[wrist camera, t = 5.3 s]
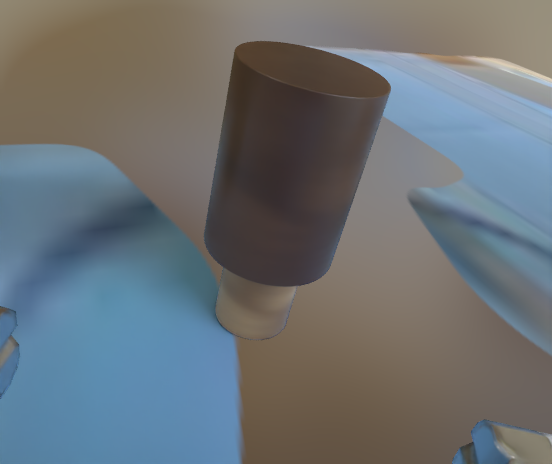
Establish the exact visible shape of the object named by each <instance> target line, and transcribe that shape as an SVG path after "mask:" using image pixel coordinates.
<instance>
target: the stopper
mask: <svg viewBox="0 0 552 464" xmlns="http://www.w3.org/2000/svg"><path fill="white" fill-rule="evenodd" d="M390 91H391V86H390V84H389V83H388V81H387V80H386V79H385V78H384V77H382V76H381V75H380V74H378V73H377V72H375V71H373V70H372V69H370V68H368V67H366V66H364V65H362V64H359V63H357V62H355V61H352V60H350V59H347V58H344V57H341V56H339V55H336V54H332V53H329V52H326V51H322V50H318V49H314V48H310V47H305V46H300V45H295V44H288V43H281V42H269V41H268V42H267V41H256V42H247V43H243V44H241V45H239V46H237V47H236V49H235V52H234V59H233V64H232V70H231V76H230V82H229V88H228V94H227V100H226V106H225V112H224V119H223V124H222V130H221V137H220V143H219V149H218V154H217V160H216V166H215V172H214V178H213V184H212V190H211V196H210V202H209V208H208V214H207V220H206V226H205V232H204V241H205V244H206V248H207V249H208V251H209V253H210V254H211V256H212V257H213V258H214V259H215V260H216V261H217V262H218V263H219V264H220V265H221V266H223V271H222V277H221V281H220V286H219V291H218V296H217V301H216V306H215V312H216V316H217V318H218V321H219V322H220V324H221V325H222V326H223V327H224V328H225V329H226V330H228V331H229V332H231V333H232V334H234V335H236V336H239V337H242V338H245V339H250V340H264V339H269V338H272V337H274V336H276V335H277V334H279V333H280V332H281V331H282V330H283V329H284V327H285V325H286V322H287V319H288V316H289V312H290V309H291V306H292V303H293V300H294V296H295V293H296V289H297V286H301V285H304V284H308V283H311V282H314V281H316V280H318V279H319V278H321V277H322V276H323V275H324V274H325V273H326V272H327V271H328V270H329V268H330V266H331V263H332V260H333V257H334V254H335V251H336V248H337V245H338V242H339V240H340V236H341V234H342V231H343V228H344V225H345V222H346V219H347V216H348V213H349V211H350V208H351V205H352V202H353V199H354V196H355V193H356V190H357V187H358V184H359V181H360V179H361V175H362V173H363V170H364V167H365V164H366V161H367V158H368V155H369V152H370V150H371V147H372V144H373V141H374V138H375V135H376V132H377V129H378V126H379V123H380V120H381V118H382V115H383V112H384V109H385V106H386V103H387V100H388V97H389V94H390Z"/></svg>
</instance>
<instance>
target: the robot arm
mask: <svg viewBox="0 0 552 464" xmlns="http://www.w3.org/2000/svg"><path fill="white" fill-rule="evenodd" d="M17 326H18V325H17V318H16V311H13V310H11V309H9V308H5V307H1V306H0V399H1V398H2V396H3V395H4V393H5V392H6V390H7V389H8V387H9V386H10V384H11V382H12V380H13V377H14V375H15V372H16V370H17V368H18V362H19V356H20V351H19V344H18V343H17V342H16V340H15V339H14V338H13V337H12V336H11V334H12V332H13V331H14V330H15V329H16V327H17ZM471 434H472V438H473V442H472V443H469V444H467V445H465V446H462V447H461V448H460V449H459V450H458V452H457V453H456V455H455V457H454V458H453V462H452V464H552V435H550V434H546V433H539V432H537V431H534V430H529V429H525V428H520V427H516V426H511V425H506V424H502V423H497V422H493V421H489V420H483V421H480V422H478V423H477V424H476V426H475V427H474V428H473V430H472V431H471Z"/></svg>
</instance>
